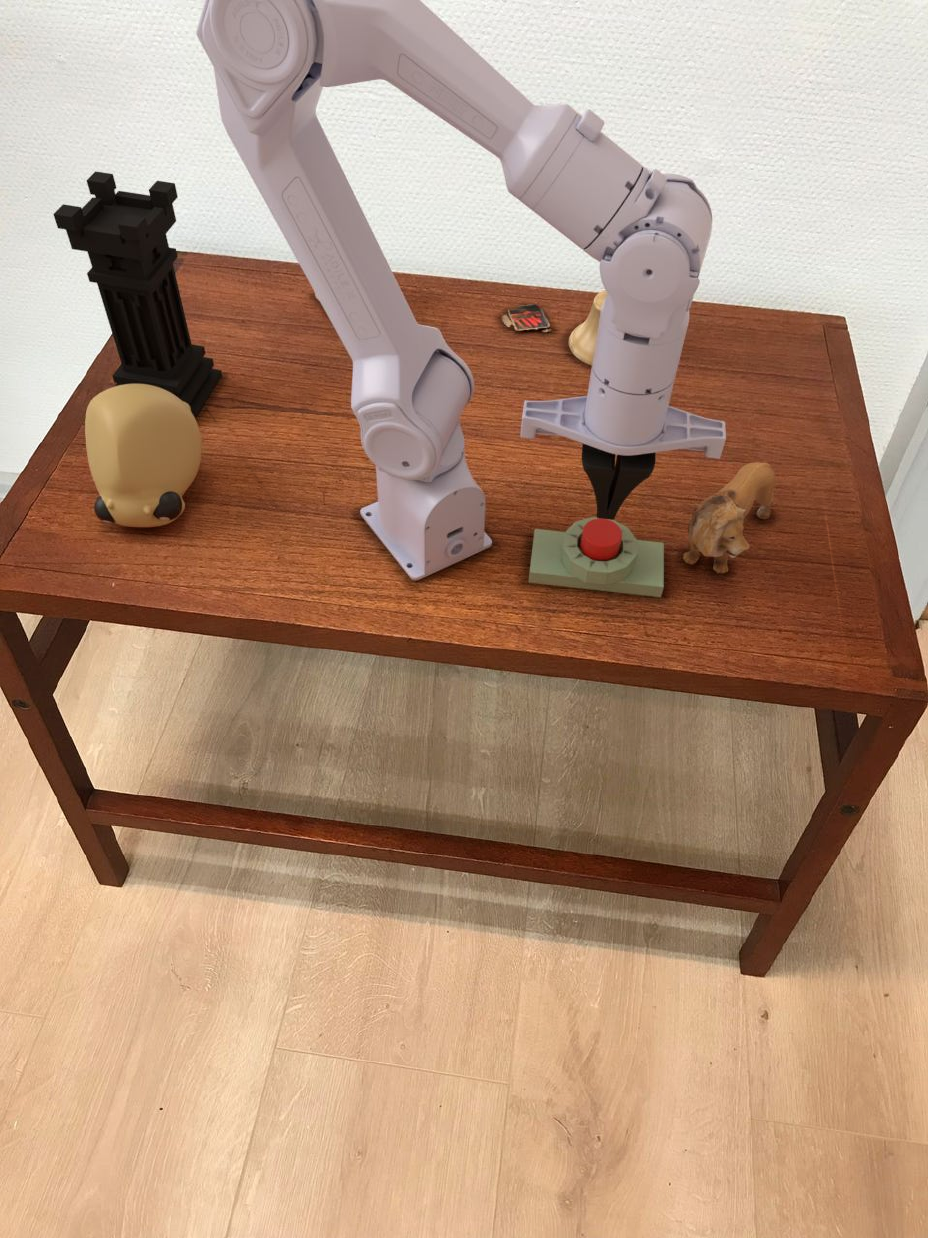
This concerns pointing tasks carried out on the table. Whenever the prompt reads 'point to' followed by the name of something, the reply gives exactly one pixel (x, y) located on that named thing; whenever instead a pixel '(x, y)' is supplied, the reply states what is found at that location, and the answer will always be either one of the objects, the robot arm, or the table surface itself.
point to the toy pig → (141, 454)
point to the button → (601, 539)
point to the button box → (597, 563)
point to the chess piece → (140, 286)
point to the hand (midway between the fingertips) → (605, 510)
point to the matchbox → (526, 318)
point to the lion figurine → (729, 515)
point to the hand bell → (587, 332)
